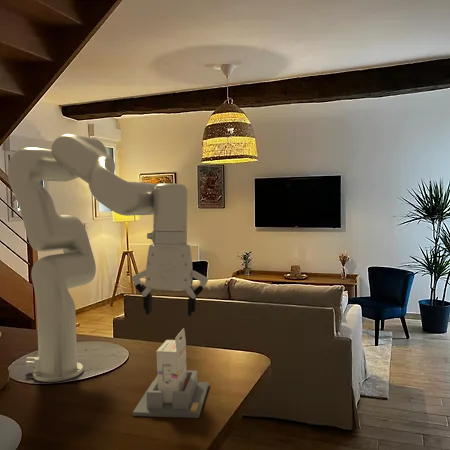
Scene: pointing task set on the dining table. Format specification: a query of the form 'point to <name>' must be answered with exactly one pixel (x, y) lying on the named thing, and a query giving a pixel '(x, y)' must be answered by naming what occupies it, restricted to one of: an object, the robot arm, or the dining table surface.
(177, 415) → the grey box holder
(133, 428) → the dining table surface
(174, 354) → the ink cartridge box
